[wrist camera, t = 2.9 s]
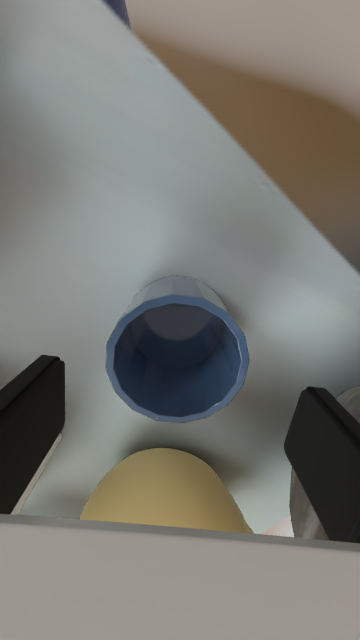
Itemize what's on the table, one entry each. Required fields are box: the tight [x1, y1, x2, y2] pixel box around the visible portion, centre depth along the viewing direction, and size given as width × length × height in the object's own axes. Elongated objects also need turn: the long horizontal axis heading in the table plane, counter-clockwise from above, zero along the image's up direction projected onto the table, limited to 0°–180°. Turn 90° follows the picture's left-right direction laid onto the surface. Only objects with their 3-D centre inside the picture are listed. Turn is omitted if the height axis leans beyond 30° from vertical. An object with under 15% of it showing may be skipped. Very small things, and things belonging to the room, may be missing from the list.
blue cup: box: [106, 276, 249, 423], centre depth 14 cm, size 7×7×6 cm
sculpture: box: [79, 448, 254, 534], centre depth 17 cm, size 11×12×11 cm
